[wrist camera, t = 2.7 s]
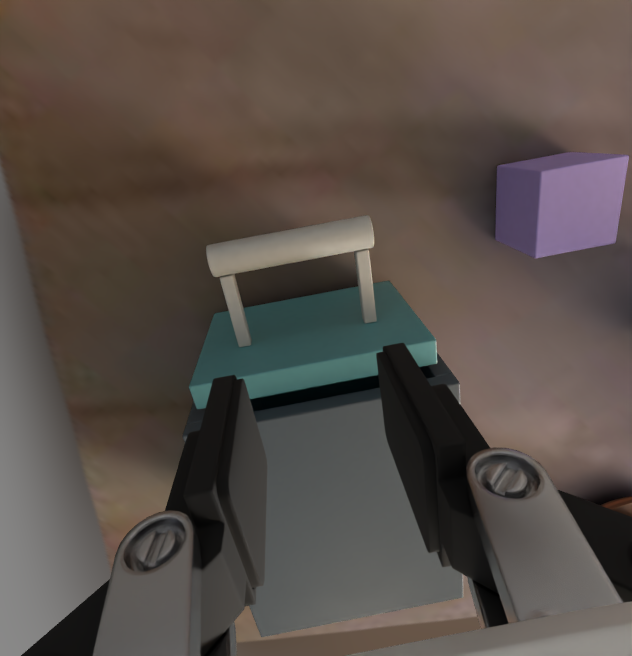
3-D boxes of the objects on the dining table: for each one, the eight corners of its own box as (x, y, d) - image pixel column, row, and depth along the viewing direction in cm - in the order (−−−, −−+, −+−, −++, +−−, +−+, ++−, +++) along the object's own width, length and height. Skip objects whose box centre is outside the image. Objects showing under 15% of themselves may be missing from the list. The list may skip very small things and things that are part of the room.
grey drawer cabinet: (213, 334, 25) (181, 436, 17) (397, 299, 25) (460, 382, 17) (265, 500, 32) (261, 638, 23) (412, 472, 32) (463, 598, 23)
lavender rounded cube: (496, 165, 23) (540, 171, 19) (570, 151, 23) (630, 154, 19) (494, 240, 24) (534, 259, 21) (563, 227, 24) (616, 243, 21)
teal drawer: (188, 229, 22) (147, 273, 15) (381, 193, 22) (432, 220, 15) (264, 481, 30) (261, 589, 23) (405, 454, 30) (446, 553, 23)
